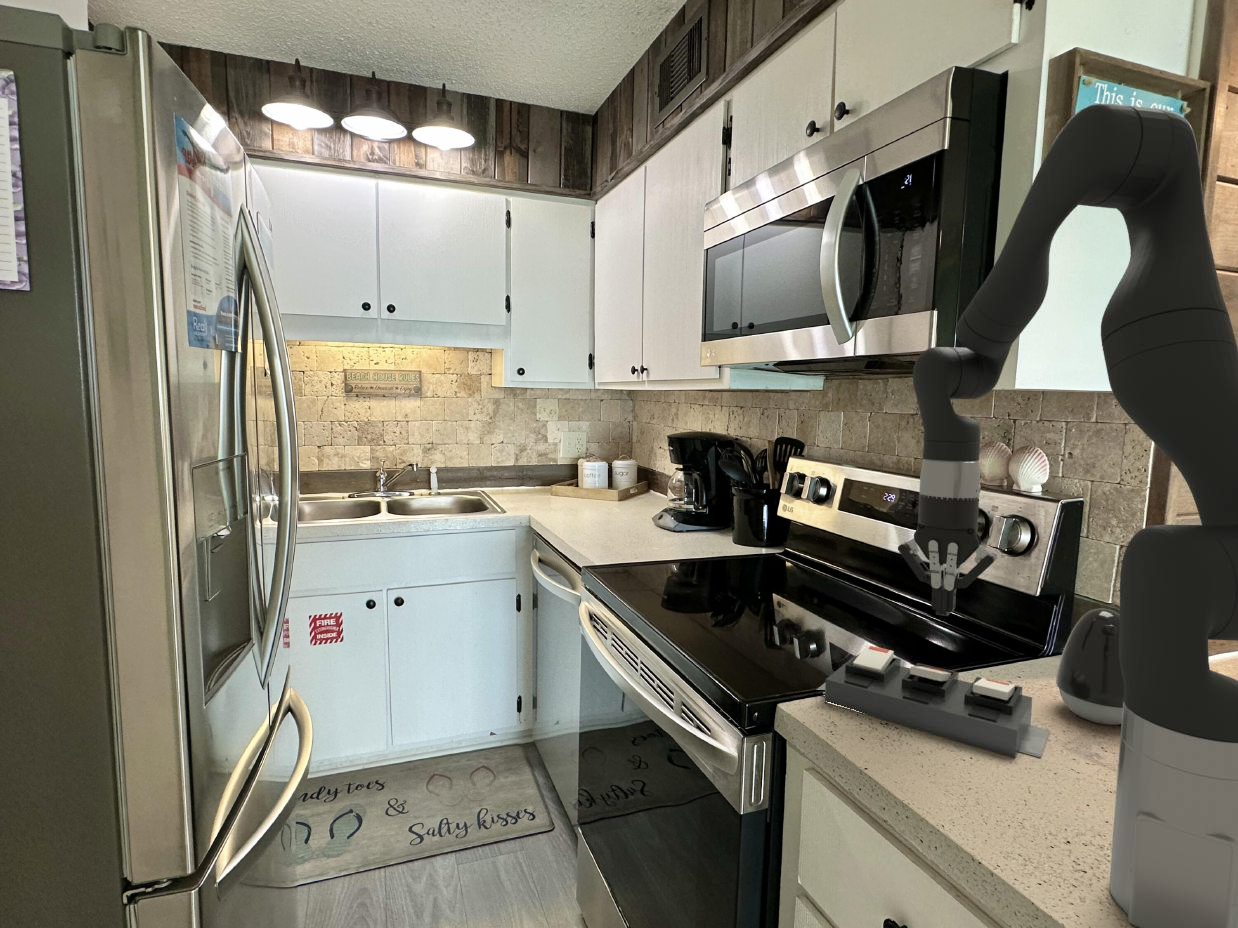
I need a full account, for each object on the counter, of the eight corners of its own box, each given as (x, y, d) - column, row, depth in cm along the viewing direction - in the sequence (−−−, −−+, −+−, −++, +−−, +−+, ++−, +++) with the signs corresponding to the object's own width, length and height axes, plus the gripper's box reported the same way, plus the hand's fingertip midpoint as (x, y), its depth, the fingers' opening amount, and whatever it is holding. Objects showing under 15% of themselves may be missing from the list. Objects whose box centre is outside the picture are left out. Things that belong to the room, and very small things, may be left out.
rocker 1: (880, 675, 98) (880, 668, 98) (853, 668, 101) (852, 662, 100) (893, 656, 103) (893, 650, 102) (867, 650, 105) (866, 644, 105)
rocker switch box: (1038, 764, 82) (1040, 727, 81) (808, 698, 100) (809, 667, 99) (1051, 727, 91) (1053, 694, 91) (839, 672, 109) (840, 644, 109)
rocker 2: (1006, 700, 88) (1007, 691, 88) (972, 691, 90) (973, 683, 91) (1014, 692, 93) (1015, 684, 93) (981, 685, 95) (982, 677, 95)
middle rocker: (940, 681, 93) (941, 672, 93) (909, 673, 95) (910, 665, 96) (950, 680, 98) (951, 672, 98) (920, 673, 100) (921, 665, 100)
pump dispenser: (1058, 723, 92) (1065, 614, 91) (1051, 694, 101) (1057, 594, 100) (1152, 741, 87) (1161, 626, 86) (1136, 709, 97) (1144, 604, 95)
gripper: (891, 490, 96) (886, 611, 98) (997, 499, 88) (990, 630, 89) (907, 486, 102) (902, 599, 103) (1007, 493, 94) (1000, 616, 95)
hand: (943, 613), depth 96 cm, fingers closed
